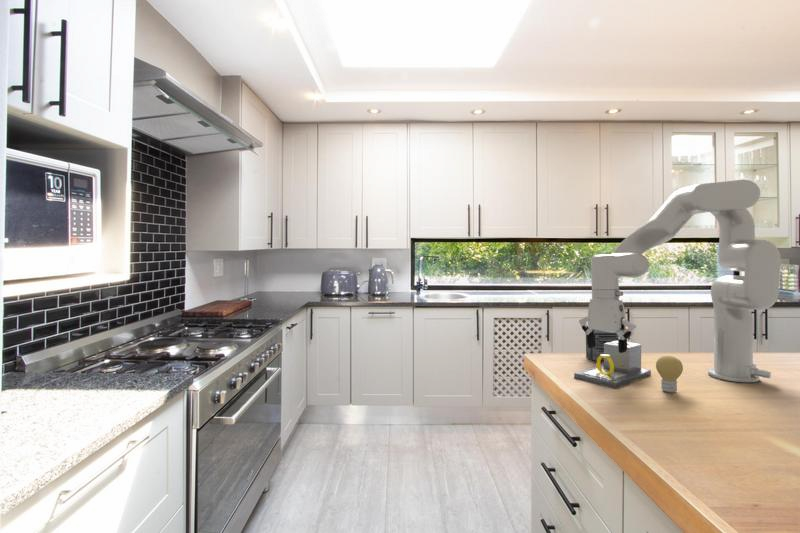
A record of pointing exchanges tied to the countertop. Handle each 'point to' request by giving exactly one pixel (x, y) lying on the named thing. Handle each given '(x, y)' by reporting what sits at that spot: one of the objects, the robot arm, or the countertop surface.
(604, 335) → the small box
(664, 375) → the light bulb
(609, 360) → the watch
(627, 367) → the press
